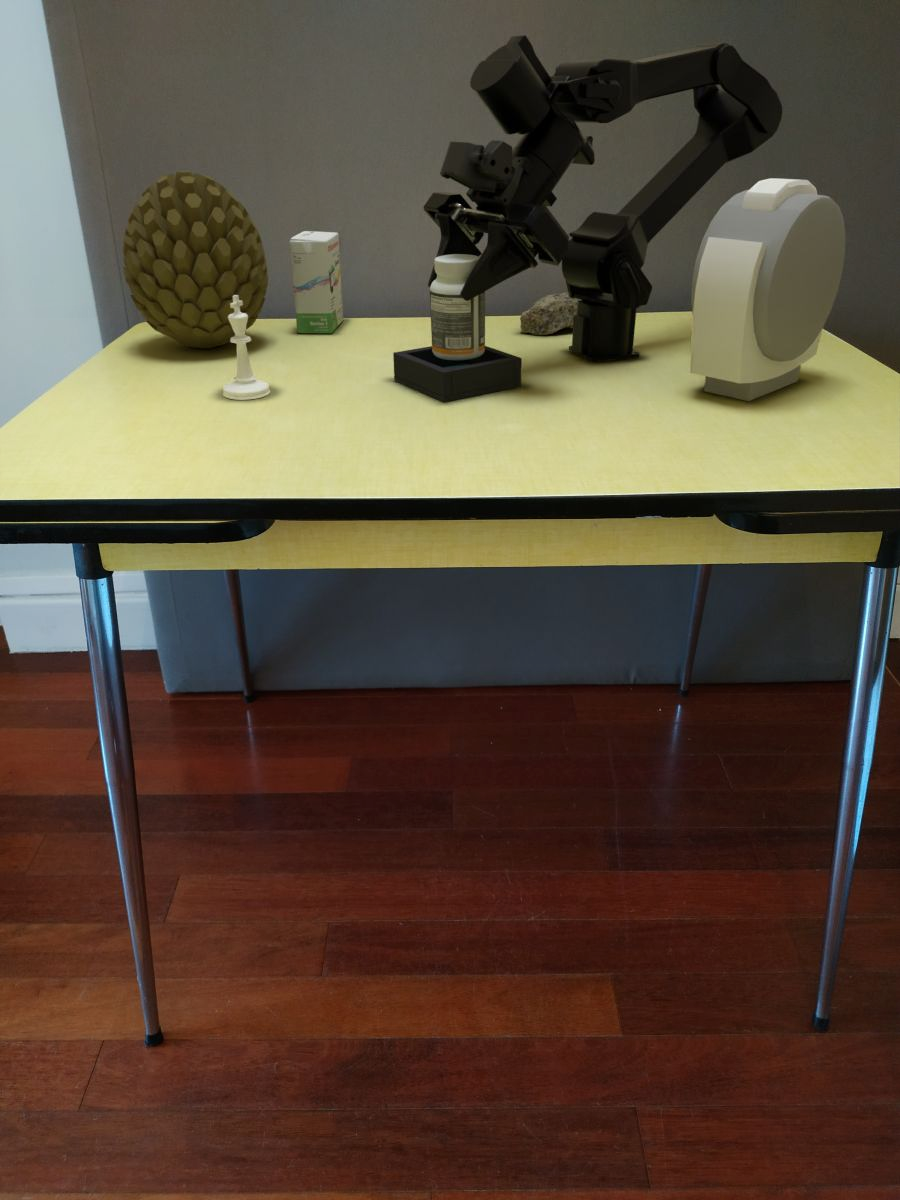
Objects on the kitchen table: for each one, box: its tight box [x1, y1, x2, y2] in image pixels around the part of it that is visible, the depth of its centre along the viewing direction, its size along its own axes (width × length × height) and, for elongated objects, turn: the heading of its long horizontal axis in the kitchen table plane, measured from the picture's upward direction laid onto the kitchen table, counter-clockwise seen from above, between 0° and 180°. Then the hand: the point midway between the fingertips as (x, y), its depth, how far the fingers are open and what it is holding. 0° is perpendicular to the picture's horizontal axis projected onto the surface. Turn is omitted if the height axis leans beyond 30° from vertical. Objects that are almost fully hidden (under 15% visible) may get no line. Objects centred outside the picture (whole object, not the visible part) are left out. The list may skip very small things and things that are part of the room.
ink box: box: [289, 230, 344, 334], centre depth 121 cm, size 8×5×12 cm, turn 175°
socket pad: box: [392, 345, 523, 403], centre depth 99 cm, size 10×10×3 cm
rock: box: [519, 291, 581, 336], centre depth 120 cm, size 7×8×4 cm
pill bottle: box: [429, 254, 486, 360], centre depth 95 cm, size 6×6×10 cm
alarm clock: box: [689, 177, 846, 402], centre depth 93 cm, size 18×8×20 cm, turn 134°
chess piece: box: [222, 295, 271, 401], centre depth 94 cm, size 5×5×10 cm
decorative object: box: [122, 170, 269, 350], centre depth 110 cm, size 17×17×20 cm
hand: (446, 293), depth 94 cm, fingers closed on pill bottle, 6 cm apart
